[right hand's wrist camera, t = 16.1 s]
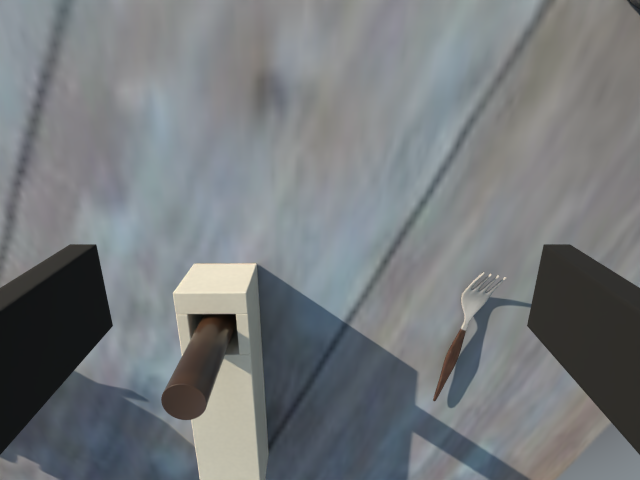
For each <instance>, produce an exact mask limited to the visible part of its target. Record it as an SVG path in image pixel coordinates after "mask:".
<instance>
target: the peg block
mask: <svg viewBox="0 0 640 480" xmlns="http://www.w3.org/2000/svg"><path fill="white" fill-rule="evenodd" d="M173 297H174V304H175V311H176V317H177V324H178V331H179V338H180V345H181V352H182V355H183V353H184V352H185V350H186V348H187V346H188V344H189V342H190V340H191V338H192V336H193V334H194V332H195V330H196V328H197V326H198V324H199V322H200V320H201V319H202V317H203V315H204V314H236V320H237V323H236V326H235V328H234V331H233V334H232V337H231V340H230V343H229V345H228V348H227V351H226V354H225V357H224V359H223V362H222V365H221V368H220V371H219V373H218V376H217V379H216V382H215V385H214V387H213V390H212V393H211V396H210V399H209V401H208V404H207V407H206V410H205V411H204V413H203V414H202V415H201V416H199V417H197V418H195V419H191V421H192V428H193V435H194V442H195V449H196V456H197V463H198V470H199V477H200V480H265V477H266V470H267V462H268V455H269V451H268V435H267V419H266V403H265V387H264V371H263V355H262V339H261V323H260V306H259V290H258V275H257V264H194V265H193V266H192V267H191V269H190V270H189V272H188V273H187V274H186V276H185V277H184V279H183V280H182V281H181V283H180V284H179V286H178V287H177V288H176V290H175V291H174V292H173Z"/></svg>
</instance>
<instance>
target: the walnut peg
mask: <svg viewBox="0 0 640 480" xmlns="http://www.w3.org/2000/svg"><path fill="white" fill-rule="evenodd" d="M236 323H237V320H236V314H204V315H203V317H202V319H201V320H200V322H199V324H198V326H197V328H196V330H195V332H194V334H193V336H192V338H191V340H190V342H189V344H188V346H187V348H186V350H185V352H184V353H183V355H182V357H181V359H180V361H179V363H178V365H177V367H176V369H175V371H174V373H173V375H172V377H171V379H170V381H169V383H168V385H167V386H166V388H165V390H164V392H163V394H162V399H161V400H162V405H163V408H164V409H165V410H166V412H167V413H168V414H170V415H171V416H173V417H175V418H178V419H182V420H191V419H195V418H197V417H199V416H201V415H202V414H203V413H204V411H205V410H206V407H207V404H208V401H209V399H210V396H211V393H212V390H213V387H214V385H215V382H216V379H217V376H218V373H219V371H220V368H221V365H222V362H223V359H224V357H225V354H226V351H227V348H228V345H229V343H230V340H231V337H232V334H233V331H234V328H235V326H236Z"/></svg>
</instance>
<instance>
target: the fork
mask: <svg viewBox="0 0 640 480" xmlns="http://www.w3.org/2000/svg"><path fill="white" fill-rule="evenodd" d="M483 274H484V272H483V273H482V274H481V275H479V276H478V277H477V278H476V279H475V280H474V281H473V282H472V283H471V284H470V285H469V286H468V287H467V288H466V290H465V291H464V292H463V294H462V297H461V303H462V307H463V311H464V315H465V320H464V323H463V325H462V327H461V329H460V331H459V333H458V334H457V336H456V338H455V340H454V341H453V343H452V345H451V347H450V349H449V351H448V353H447V355H446V358H445V361H444V364H443V368H442V372H441V375H440V379H439V382H438V385H437V388H436V392H435V395H434V399H433V401H436V399H437V397H438V396H439V394H440V392H441V390H442V388H443V386H444V384H445V382H446V381H447V379H448V377H449V375H450V373H451V372H452V370H453V368H454V366H455V364H456V362H457V359H458V357H459V354H460V350H461V347H462V343H463V339H464V336H465V332H466V328H467V325H468V323H469V321H470V319H471V318H472V317H473V316H474V315H475V314H476V313H477V312H478V310H479V309H480V308H481V307H482V306H483V305H484V304H485V303H486V302H487V300H488V299H489V297H490V296H491V294H492V293H493V291H494V290H495V289H496V288H497V287H498V286H499V285H500V284H501V283H502V282H503V281H504V280H505V279H506V277H505V278H503V279H502V280H501V281H500V282H498V283H497V284H496V285H495V286H494V287H493V288H492V289H491V290H490V291H488V292H486V290H487V289H488V288H489V286H490V285H491V284H492V283H493V282H494V281H495V280H496V279H497V278H498V277H499V275H498V276H497V277H495V278H494V279H493V280H492V281H491V282H490V283H488V284H487V285H486V286H485V287H484V288H483V289H482V290H480V291H479V289H480V287H481V286H482V285H483V284H484V283H485V281H486V280H487V279H488V278H489V277H490V276H491V274H490V275H489V276H487V277H486V278H485V279H484V280H483V281H482V282H481V283H480V284H479V285H478V286H477V287H476V288H474V289H472V287H473V286H474V284H475V283H476V282H477V281H478V280H479V279H480V277H481V276H482V275H483Z"/></svg>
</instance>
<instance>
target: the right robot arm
mask: <svg viewBox="0 0 640 480" xmlns="http://www.w3.org/2000/svg"><path fill="white" fill-rule="evenodd" d="M630 1H631V2H632V3H633V4H634V5H635V6H636V7H638V8H639V9H640V0H630ZM112 326H113V325H112V320H111V315H110V310H109V305H108V300H107V295H106V290H105V285H104V280H103V276H102V271H101V266H100V261H99V256H98V251H97V246H96V245H69V246H67V247H65V248H64V249H62V250H61V251H59V252H57V253H56V254H54V255H53V256H51V257H49V258H48V259H46V260H45V261H43V262H41V263H40V264H38V265H37V266H35V267H33V268H32V269H30V270H29V271H27V272H25V273H24V274H22V275H21V276H19V277H17V278H16V279H14V280H12V281H11V282H9V283H8V284H6V285H4V286H3V287H1V288H0V454H1V453H2V452H3V451H4V450H5V449H6V448H7V446H8V445H9V444H10V443H11V442H12V441H13V440H14V438H15V437H16V436H17V435H18V434H19V433H20V431H21V430H22V429H23V428H24V427H25V426H26V425H27V423H28V422H29V421H30V420H31V419H32V418H33V417H34V415H35V414H36V413H37V412H38V411H39V410H40V409H41V407H42V406H43V405H44V404H45V403H46V402H47V401H48V399H49V398H50V397H51V396H52V395H53V394H54V393H55V391H56V390H57V389H58V388H59V387H60V386H61V385H62V383H63V382H64V381H65V380H66V379H67V378H68V377H69V375H70V374H71V373H72V372H73V371H74V370H75V369H76V367H77V366H78V365H79V364H80V363H81V362H82V361H83V359H84V358H85V357H86V356H87V355H88V354H89V352H90V351H91V350H92V349H93V348H94V347H95V346H96V344H97V343H98V342H99V341H100V340H101V339H102V338H103V336H104V335H105V334H106V333H107V332H108V331H109V330H110V328H111V327H112ZM527 326H528V327H529V328H530V330H531V331H532V332H533V333H534V334H535V335H536V336H537V338H538V339H539V340H540V341H541V342H542V343H543V344H544V346H545V347H546V348H547V349H548V350H549V351H550V352H551V354H552V355H553V356H554V357H555V358H556V359H557V361H558V362H559V363H560V364H561V365H562V366H563V367H564V369H565V370H566V371H567V372H568V373H569V374H570V375H571V377H572V378H573V379H574V380H575V381H576V382H577V383H578V385H579V386H580V387H581V388H582V389H583V390H584V391H585V393H586V394H587V395H588V396H589V397H590V398H591V399H592V401H593V402H594V403H595V404H596V405H597V406H598V407H599V409H600V410H601V411H602V412H603V413H604V414H605V415H606V417H607V418H608V419H609V420H610V421H611V422H612V423H613V425H614V426H615V427H616V428H617V429H618V430H619V431H620V433H621V434H622V435H623V436H624V437H625V438H626V439H627V441H628V442H629V443H630V444H631V445H632V446H633V448H634V449H635V450H636V451H637V452H638V453H639V454H640V288H639V287H637V286H636V285H634V284H632V283H631V282H629V281H628V280H626V279H624V278H623V277H621V276H619V275H618V274H616V273H615V272H613V271H611V270H610V269H608V268H607V267H605V266H603V265H602V264H600V263H599V262H597V261H595V260H594V259H592V258H591V257H589V256H587V255H586V254H584V253H583V252H581V251H579V250H578V249H576V248H575V247H573V246H571V245H544V246H543V251H542V256H541V261H540V266H539V271H538V276H537V280H536V285H535V290H534V295H533V300H532V305H531V310H530V315H529V320H528V325H527Z"/></svg>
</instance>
